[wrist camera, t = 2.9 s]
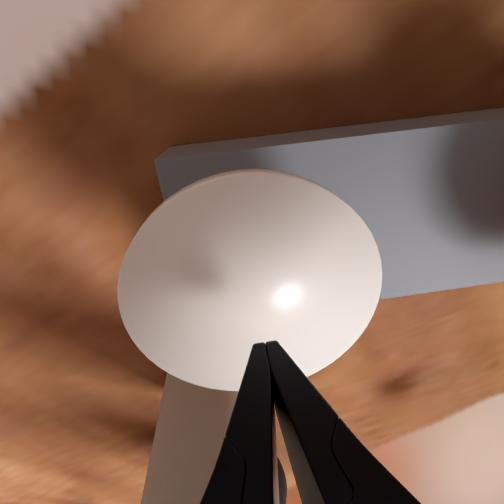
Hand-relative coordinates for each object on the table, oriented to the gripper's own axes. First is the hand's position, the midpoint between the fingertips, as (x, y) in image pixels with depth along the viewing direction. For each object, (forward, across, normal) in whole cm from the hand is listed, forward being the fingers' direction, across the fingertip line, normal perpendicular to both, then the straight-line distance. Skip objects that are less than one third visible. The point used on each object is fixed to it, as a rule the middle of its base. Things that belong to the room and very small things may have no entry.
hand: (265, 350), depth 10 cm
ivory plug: (+9, 0, 0) cm, 9 cm away
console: (+13, -10, 0) cm, 16 cm away
